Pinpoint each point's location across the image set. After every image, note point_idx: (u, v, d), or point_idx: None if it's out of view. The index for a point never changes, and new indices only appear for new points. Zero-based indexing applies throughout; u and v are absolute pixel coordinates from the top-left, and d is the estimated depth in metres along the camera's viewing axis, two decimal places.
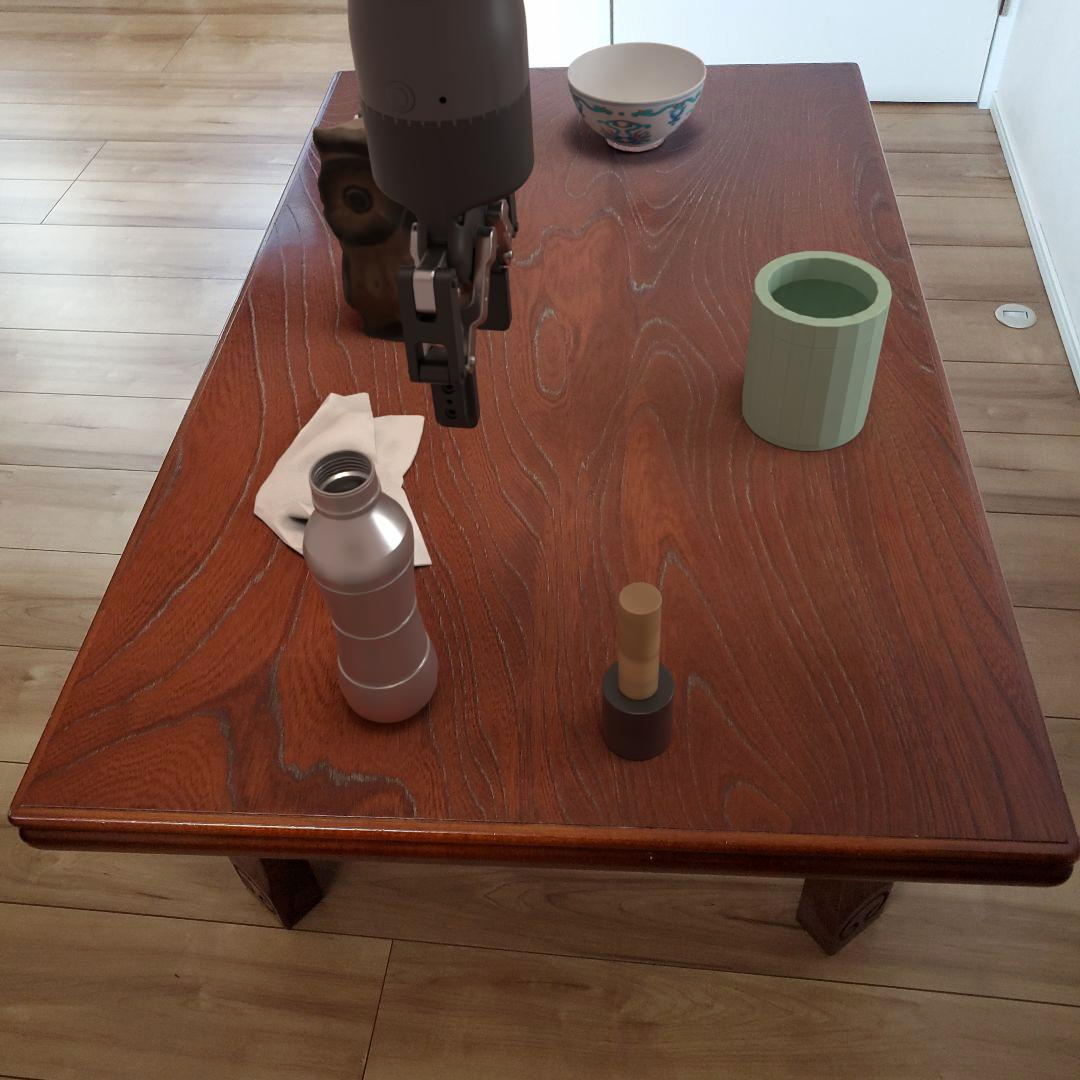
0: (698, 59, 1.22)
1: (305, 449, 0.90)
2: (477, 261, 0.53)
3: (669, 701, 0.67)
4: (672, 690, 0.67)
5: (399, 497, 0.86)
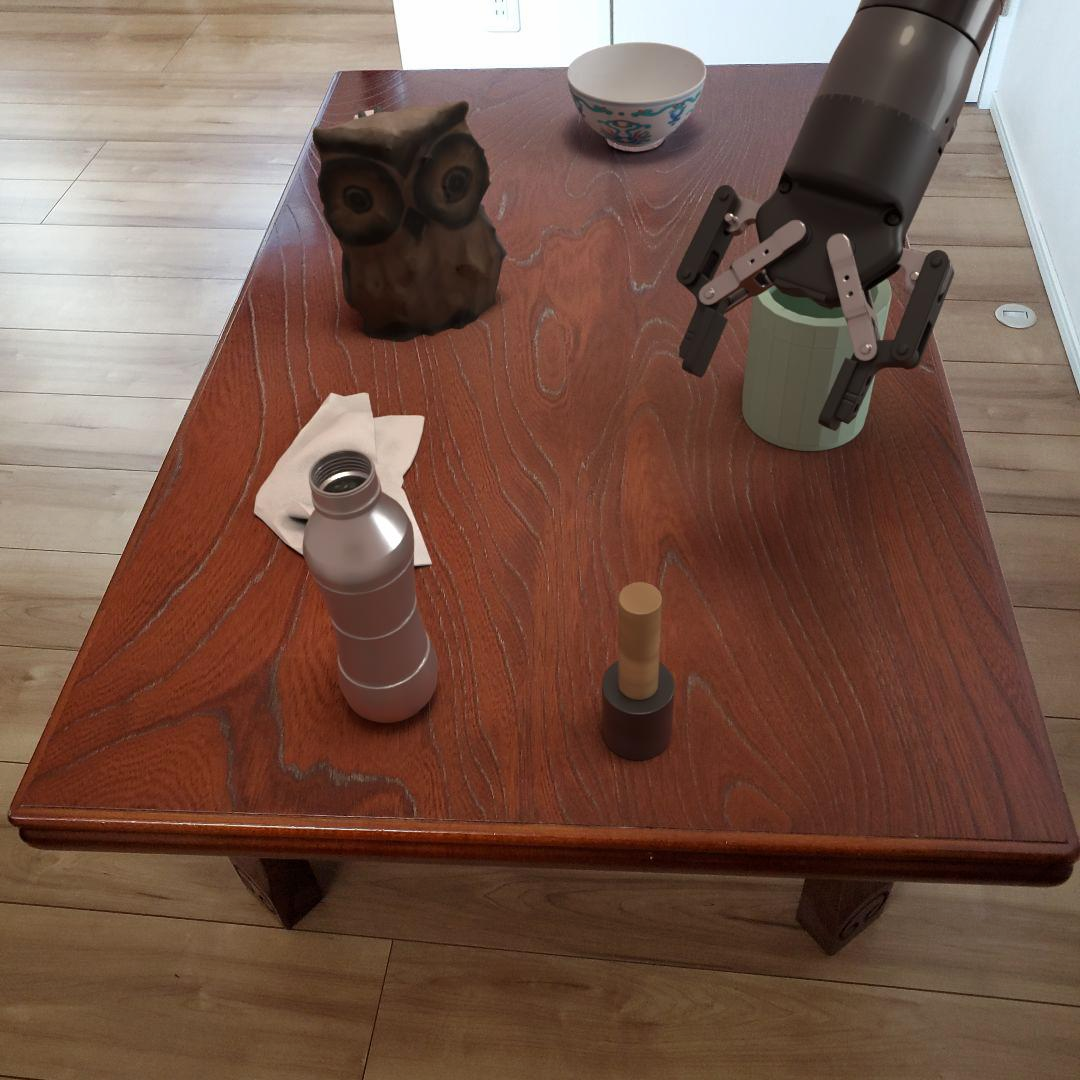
0: (698, 59, 1.22)
1: (305, 449, 0.90)
2: None
3: (669, 701, 0.67)
4: (672, 690, 0.67)
5: (399, 497, 0.86)
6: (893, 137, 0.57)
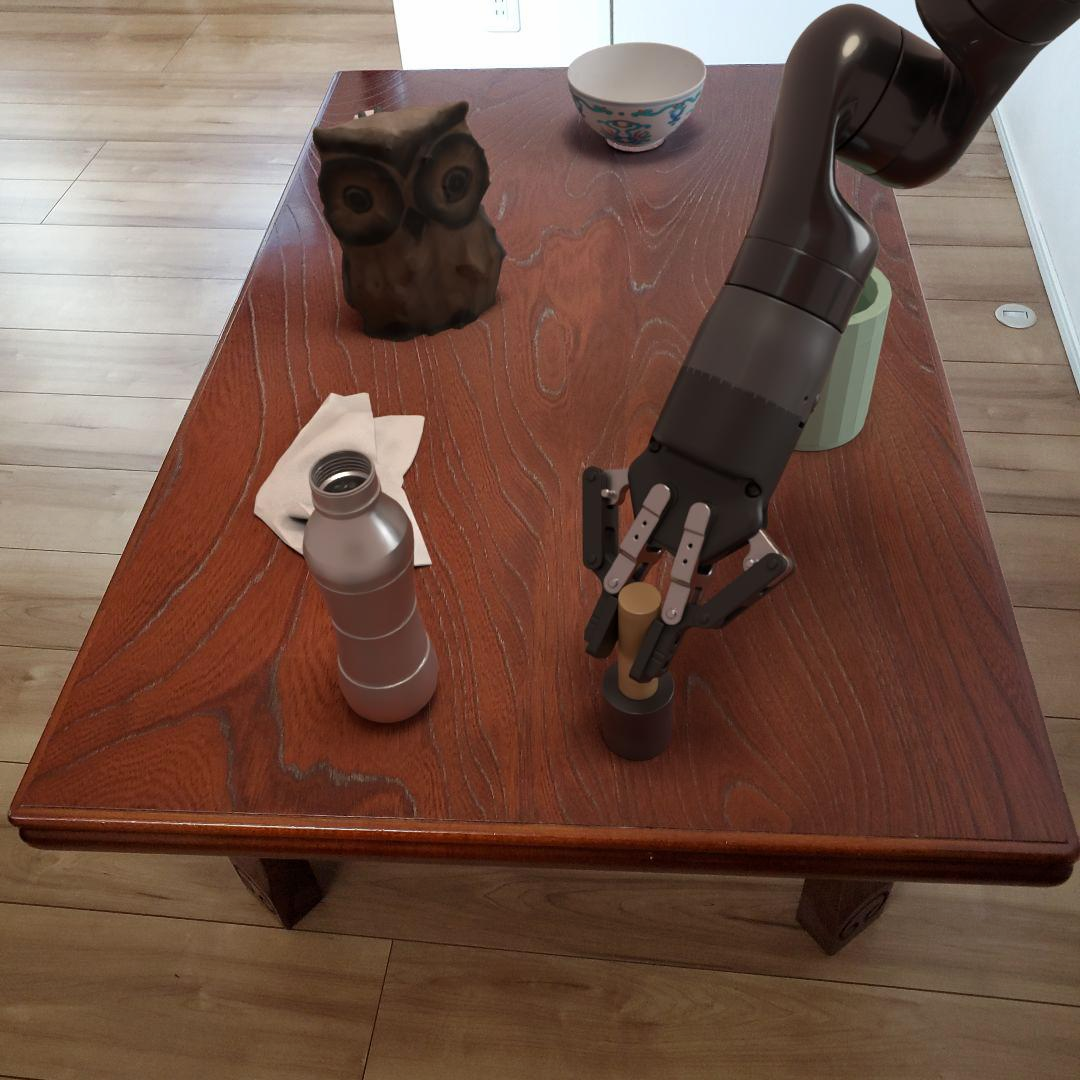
0: (698, 59, 1.22)
1: (305, 449, 0.90)
2: None
3: (669, 701, 0.67)
4: (672, 690, 0.67)
5: (399, 497, 0.86)
6: (749, 418, 0.58)
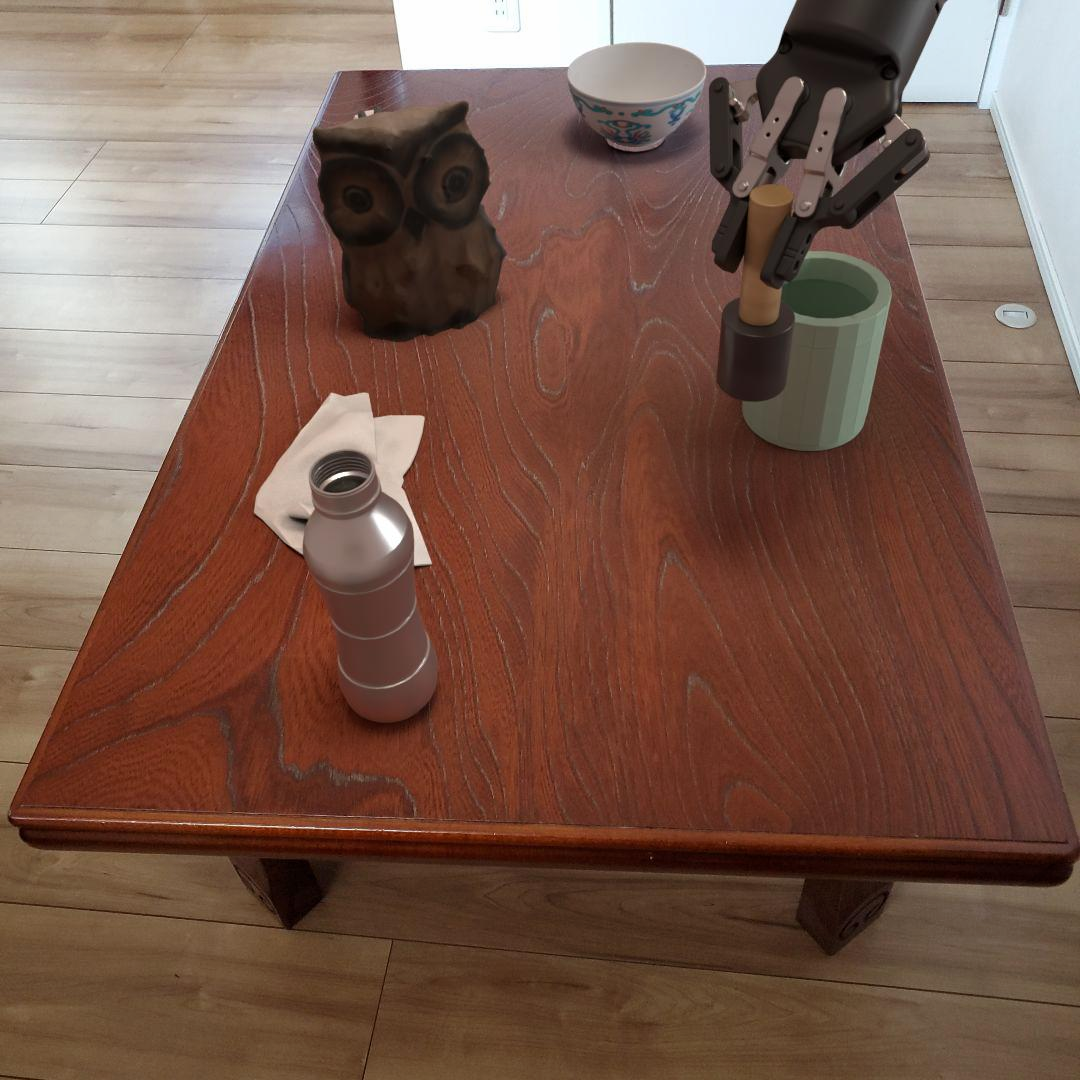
0: (698, 59, 1.22)
1: (305, 449, 0.90)
2: None
3: (791, 327, 0.67)
4: (793, 318, 0.67)
5: (399, 497, 0.86)
6: None
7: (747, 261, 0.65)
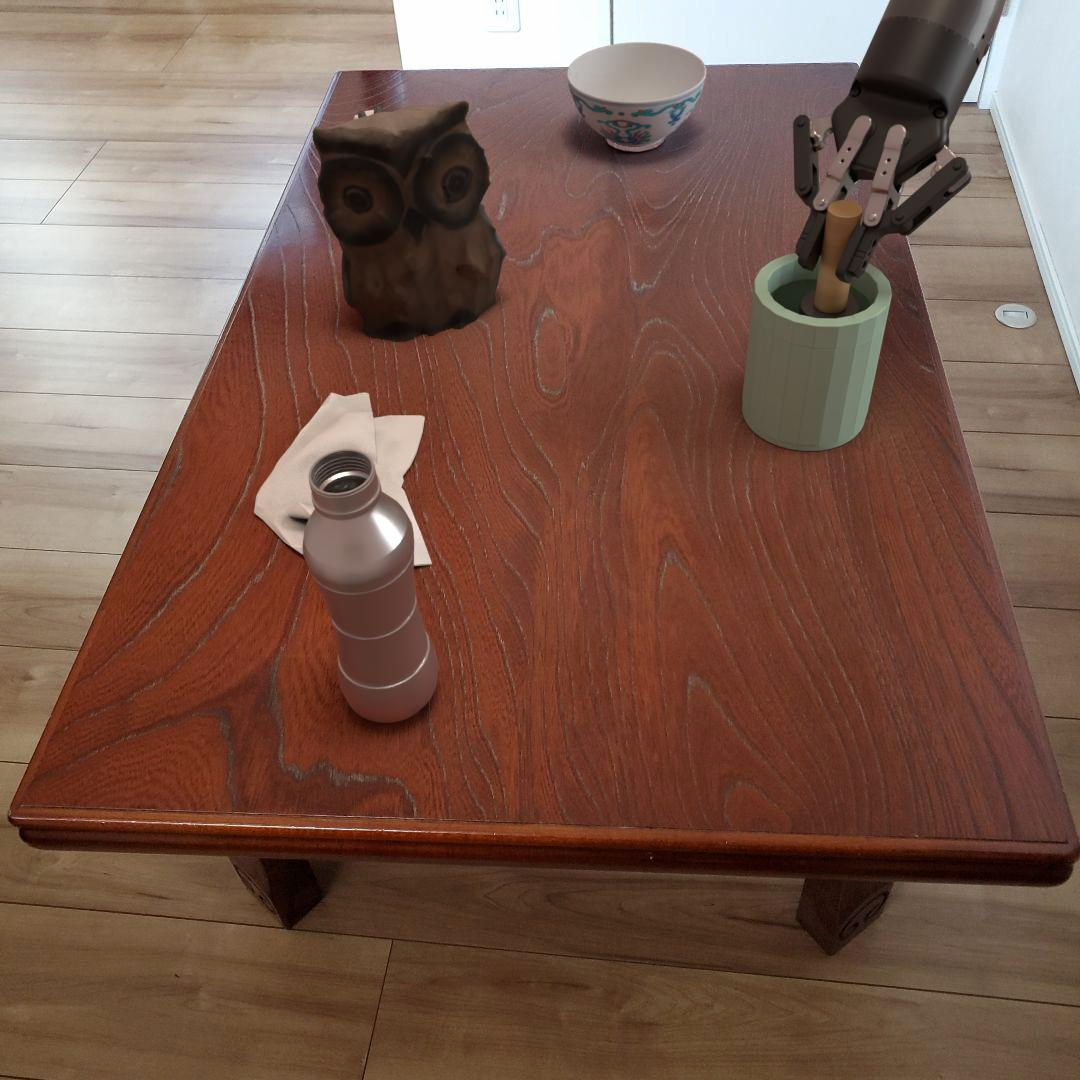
0: (698, 59, 1.22)
1: (305, 449, 0.90)
2: None
3: None
4: (858, 307, 0.84)
5: (399, 497, 0.86)
6: (941, 47, 0.74)
7: (823, 261, 0.81)
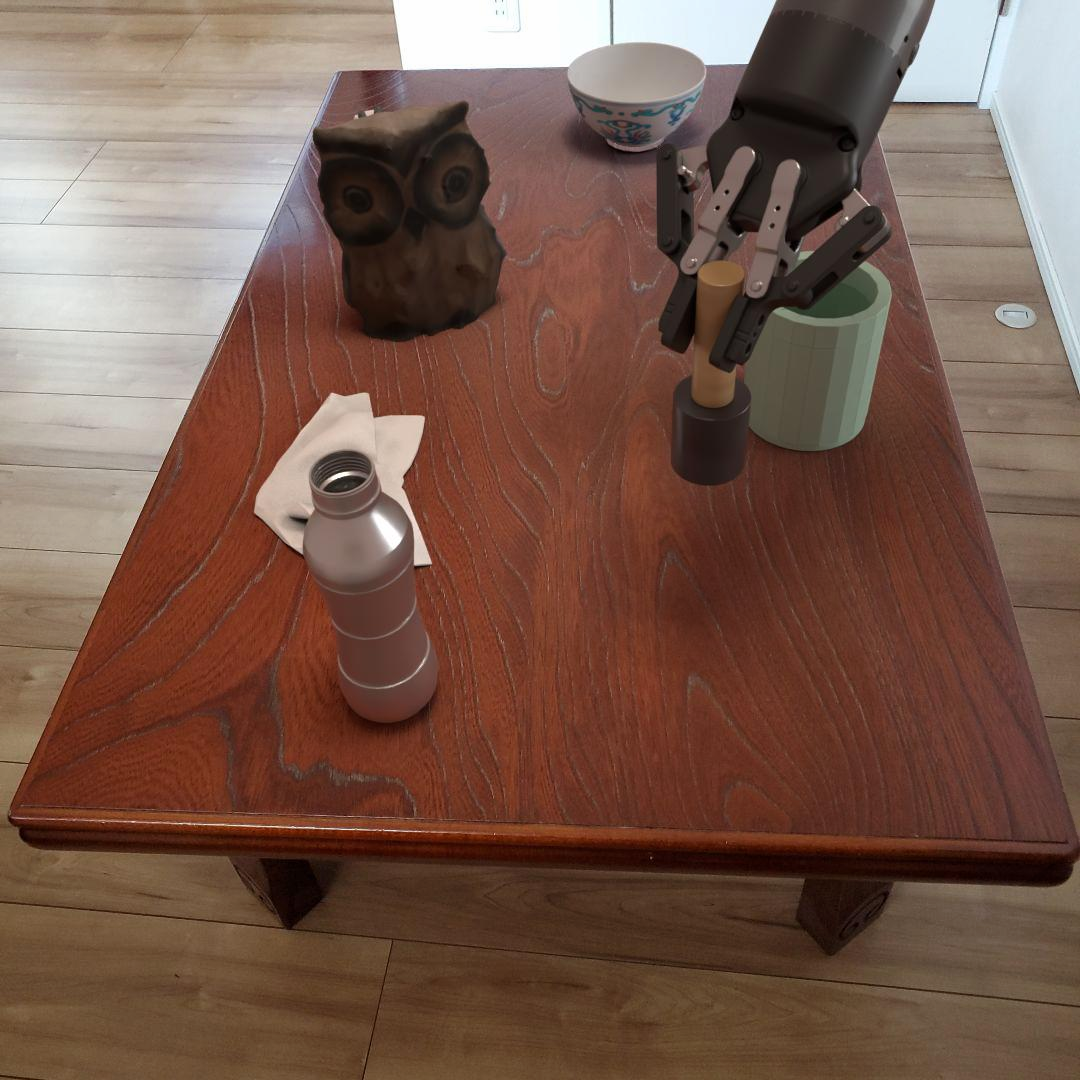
0: (698, 59, 1.22)
1: (305, 449, 0.90)
2: None
3: (746, 409, 0.62)
4: (749, 399, 0.63)
5: (399, 497, 0.86)
6: (846, 54, 0.53)
7: (697, 341, 0.60)
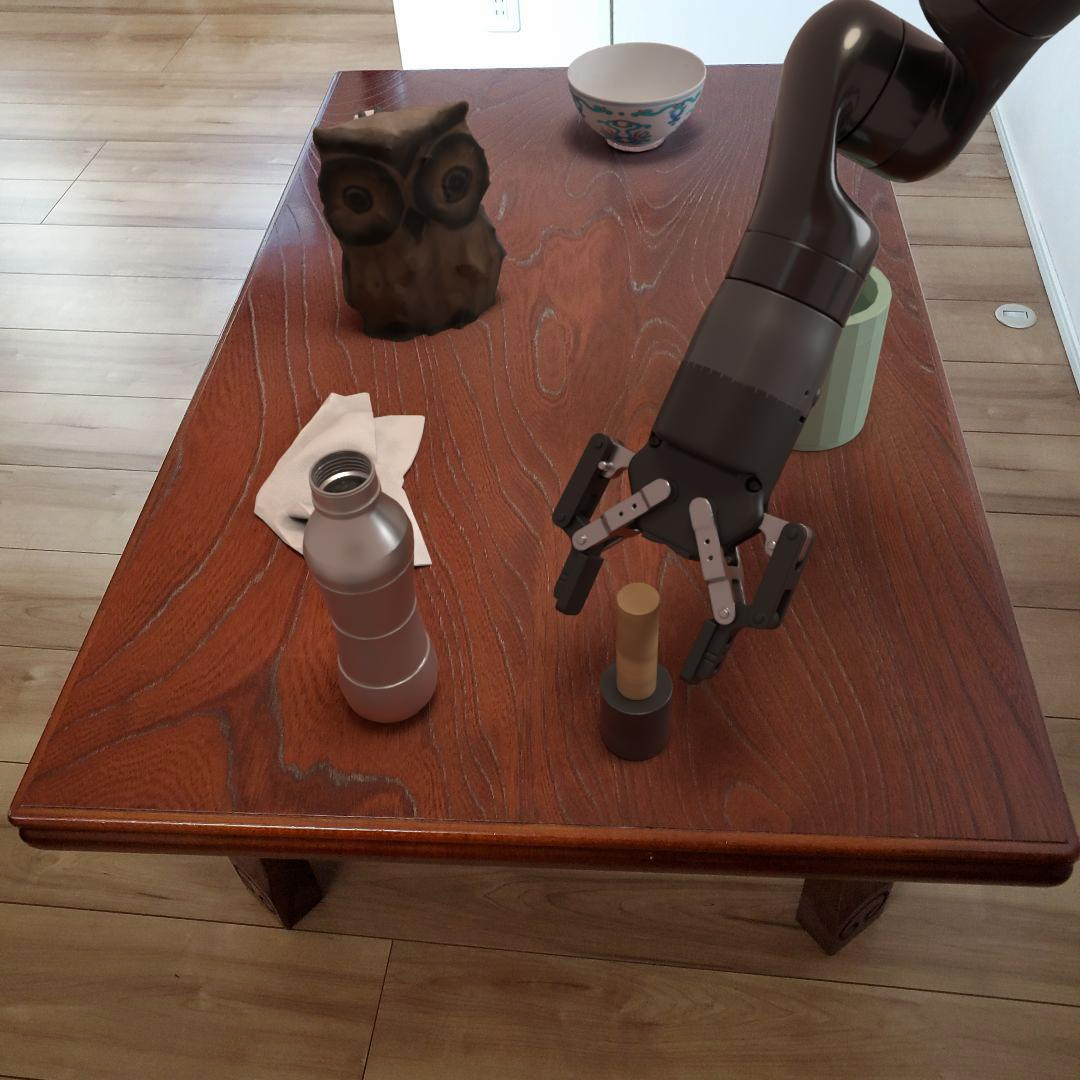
0: (698, 59, 1.22)
1: (305, 449, 0.90)
2: None
3: (667, 701, 0.67)
4: (670, 690, 0.67)
5: (399, 497, 0.86)
6: (750, 412, 0.58)
7: (619, 649, 0.65)
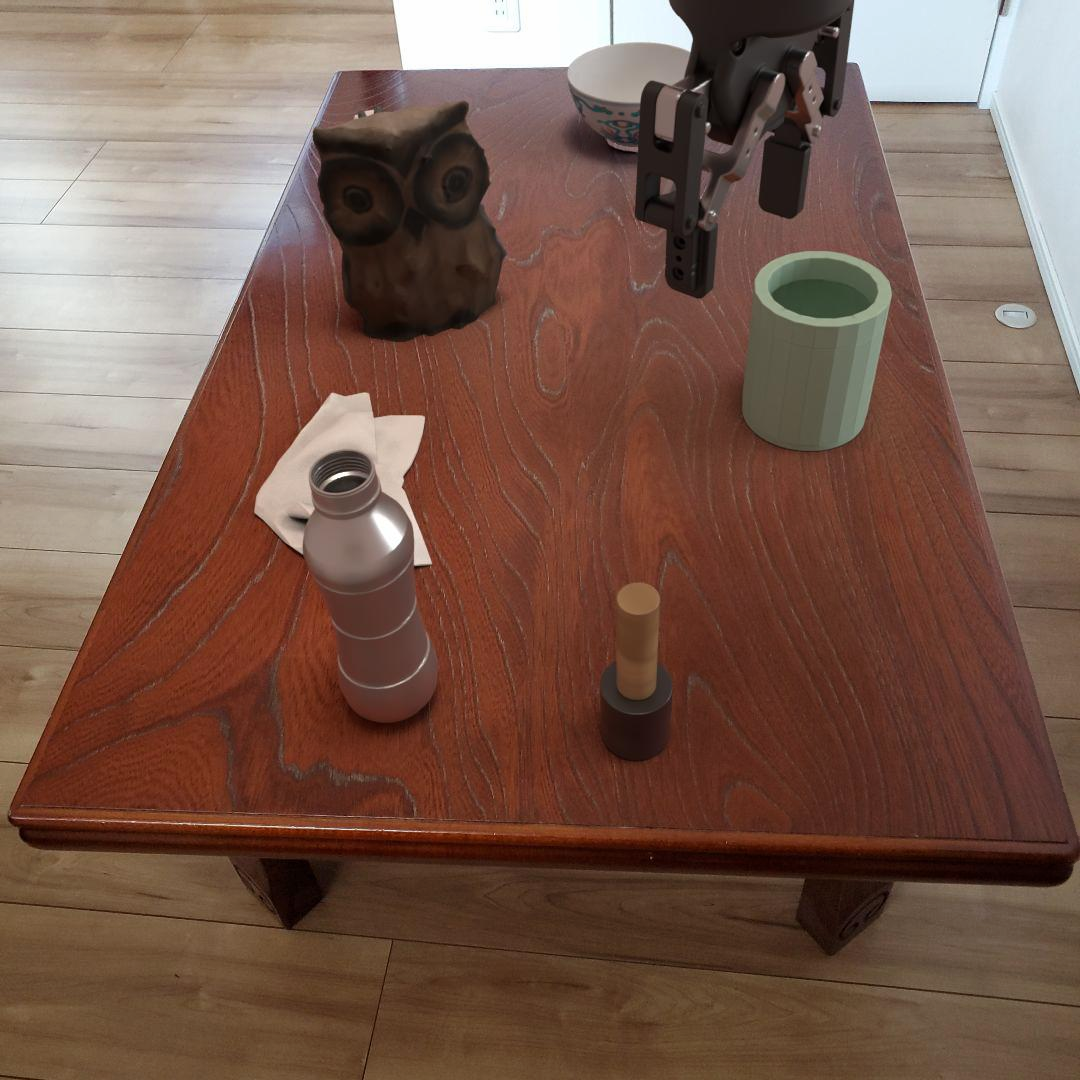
0: None
1: (306, 449, 0.90)
2: (750, 107, 0.47)
3: (667, 701, 0.67)
4: (670, 690, 0.67)
5: (399, 497, 0.86)
6: None
7: (619, 649, 0.65)
